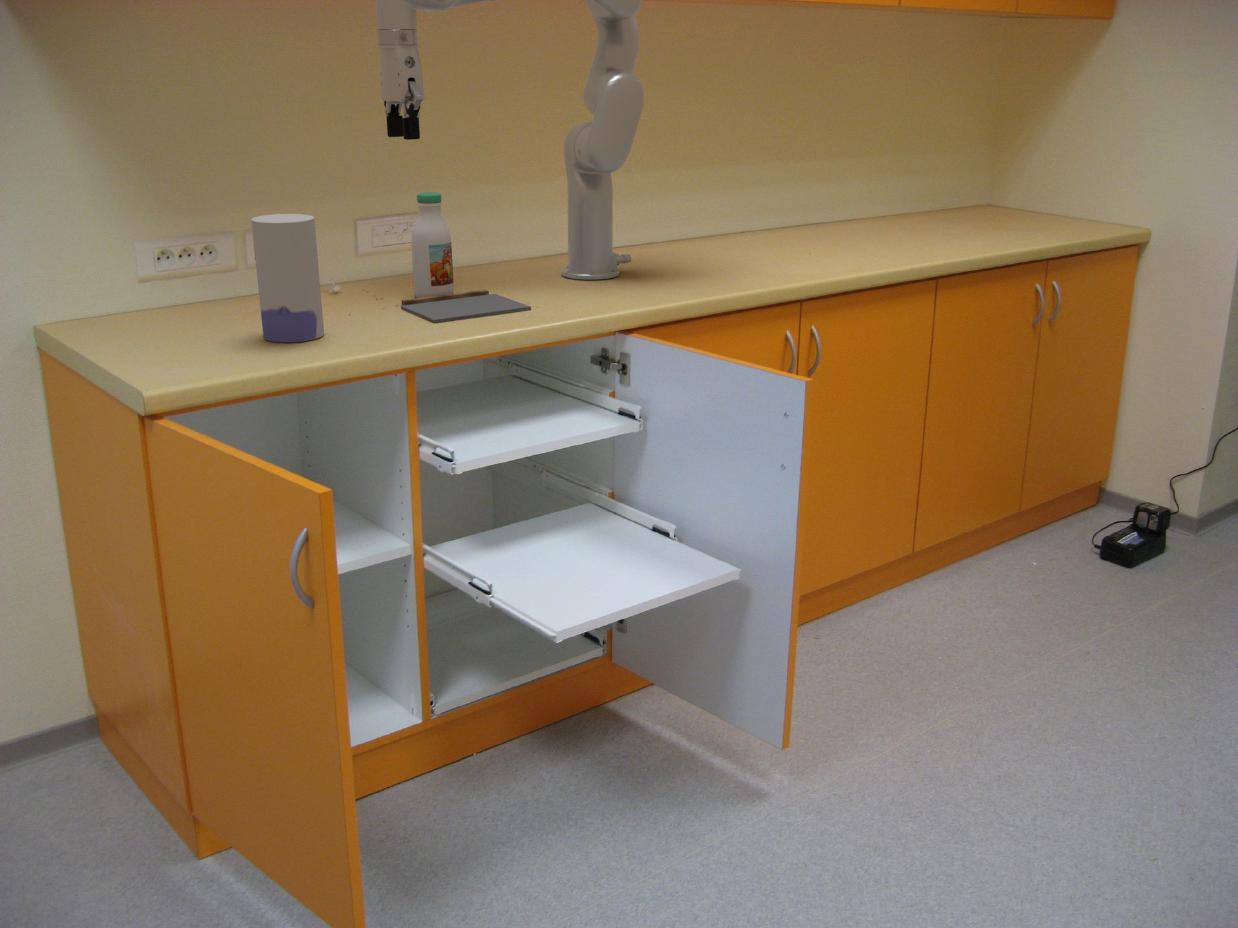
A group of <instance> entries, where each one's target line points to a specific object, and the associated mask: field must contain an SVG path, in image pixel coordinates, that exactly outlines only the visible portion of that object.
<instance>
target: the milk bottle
mask: <svg viewBox="0 0 1238 928" xmlns="http://www.w3.org/2000/svg"><path fill="white" fill-rule="evenodd" d="M416 200H417V201H416V202H417V204H416V206H418V213H417V216H416V220H415V223H414V225H413V228H412V233H411V260H412V261H411V262H412V263H411V264H412V279H413V280H412V281H413V295H414V297H415V298H423V297H431V296H439V295H447V294H455V293H454V291H455V290H454V289H455V286H454V285H455V284H454V269H453V268H454V267H453V264H454V262H453V250H452V249H453V248H452V238H451V232H450V228H449V226H448V224H447V222H446V221H445V219H444V218H445V217H444V216H443V212H442V210H441V209H442V208H441V206H442V194H441V193H440V192H435V191H433V192H429V191H428V192H426V191H425V192H424V191H423V192H419V193H417V195H416Z"/></svg>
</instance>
